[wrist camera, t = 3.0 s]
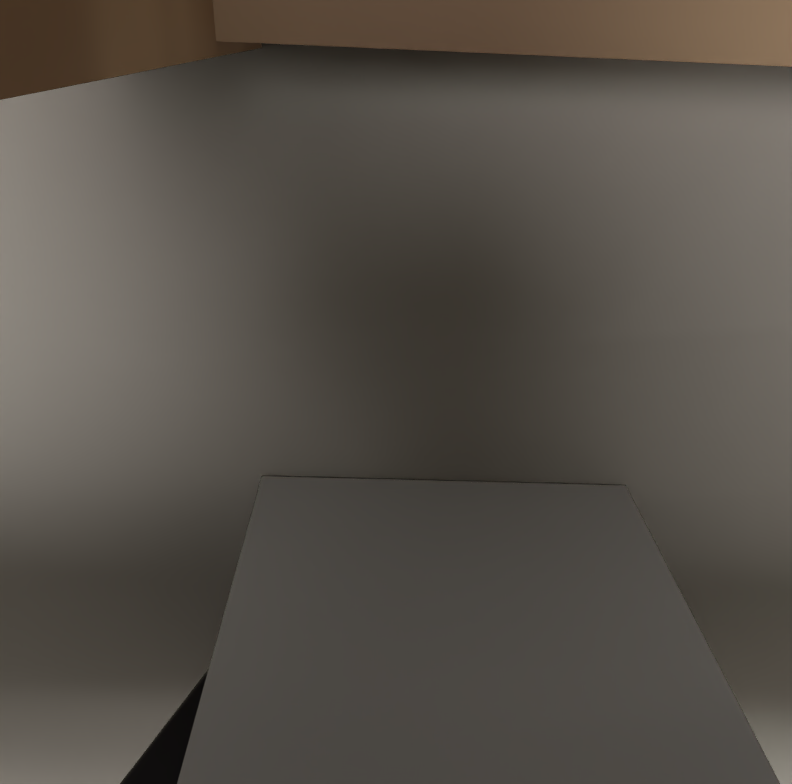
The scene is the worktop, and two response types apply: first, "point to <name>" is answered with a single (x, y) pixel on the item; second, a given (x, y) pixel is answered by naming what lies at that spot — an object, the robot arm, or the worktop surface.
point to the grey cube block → (461, 644)
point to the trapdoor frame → (374, 32)
